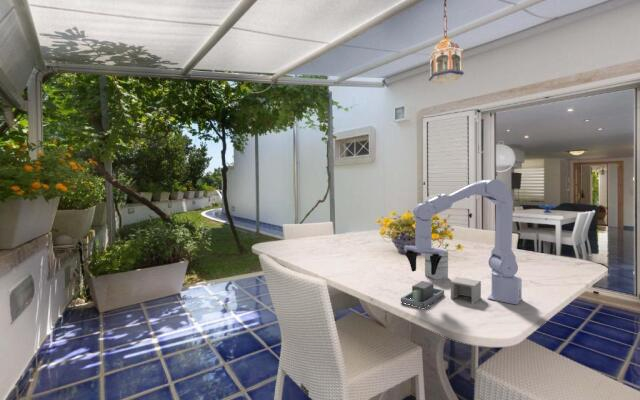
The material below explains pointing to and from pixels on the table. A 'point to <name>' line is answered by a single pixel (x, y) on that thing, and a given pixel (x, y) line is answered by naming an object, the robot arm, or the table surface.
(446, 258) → the supplement box
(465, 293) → the sleeve
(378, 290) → the table surface
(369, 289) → the table surface
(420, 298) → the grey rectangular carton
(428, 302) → the tray
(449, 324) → the table surface
